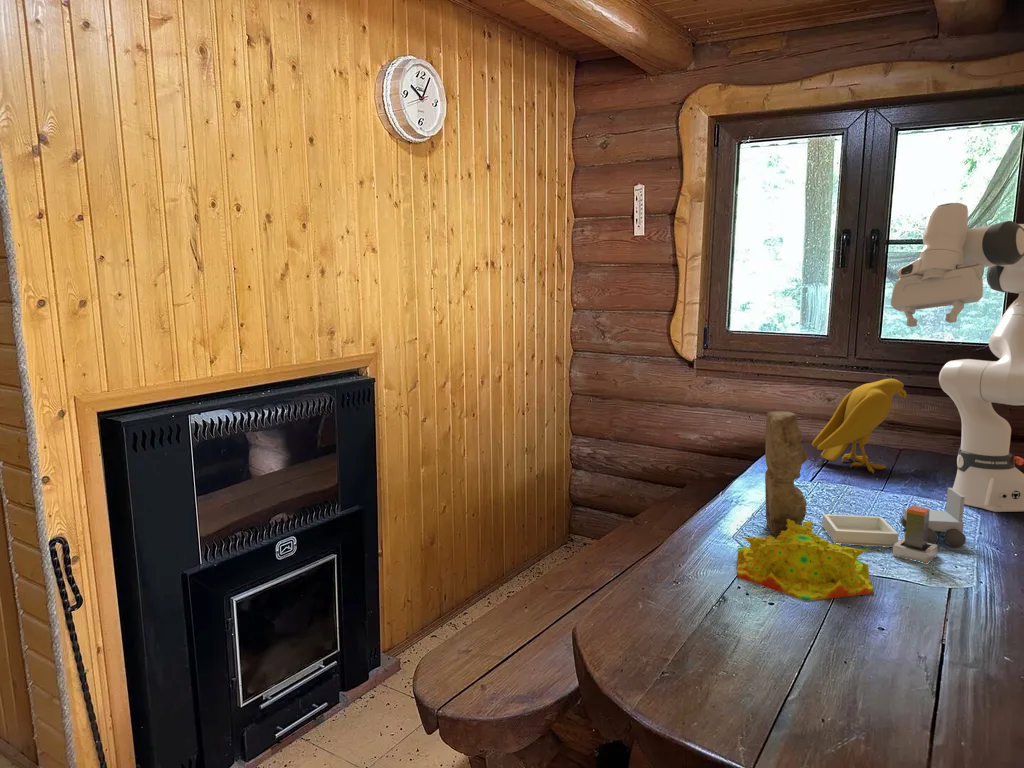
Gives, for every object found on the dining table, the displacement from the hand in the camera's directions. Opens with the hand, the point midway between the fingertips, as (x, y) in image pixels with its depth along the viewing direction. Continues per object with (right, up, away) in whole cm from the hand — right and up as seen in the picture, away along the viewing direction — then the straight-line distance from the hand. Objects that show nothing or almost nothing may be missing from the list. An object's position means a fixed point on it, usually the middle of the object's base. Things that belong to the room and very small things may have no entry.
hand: (930, 324), depth 163 cm
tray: (-14, -51, +6) cm, 53 cm away
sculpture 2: (+16, -41, +68) cm, 81 cm away
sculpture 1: (-31, -51, +10) cm, 60 cm away
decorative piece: (-35, -55, -12) cm, 66 cm away
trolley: (+3, -51, +5) cm, 51 cm away
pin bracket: (-7, -53, -5) cm, 53 cm away
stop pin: (-7, -53, -5) cm, 53 cm away
